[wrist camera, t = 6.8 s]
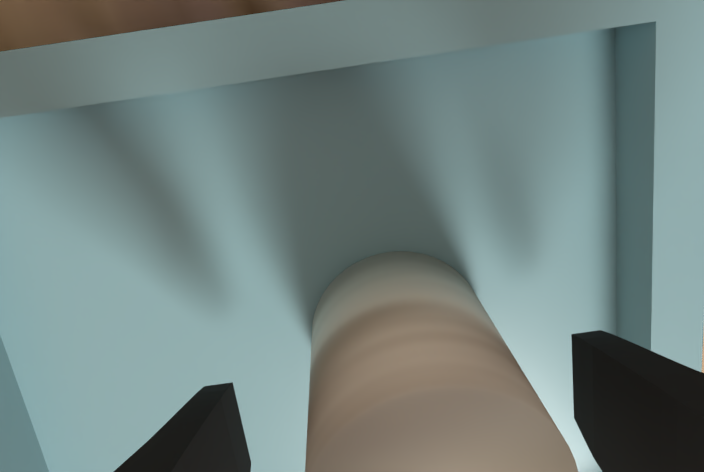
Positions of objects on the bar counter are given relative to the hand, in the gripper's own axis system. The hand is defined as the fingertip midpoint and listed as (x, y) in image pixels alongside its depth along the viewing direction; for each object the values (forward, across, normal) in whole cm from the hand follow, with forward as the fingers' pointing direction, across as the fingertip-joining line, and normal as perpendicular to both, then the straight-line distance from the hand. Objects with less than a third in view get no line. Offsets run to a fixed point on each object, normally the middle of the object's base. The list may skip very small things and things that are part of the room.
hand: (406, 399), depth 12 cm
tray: (+4, +2, 0) cm, 4 cm away
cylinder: (+3, 0, 0) cm, 3 cm away
